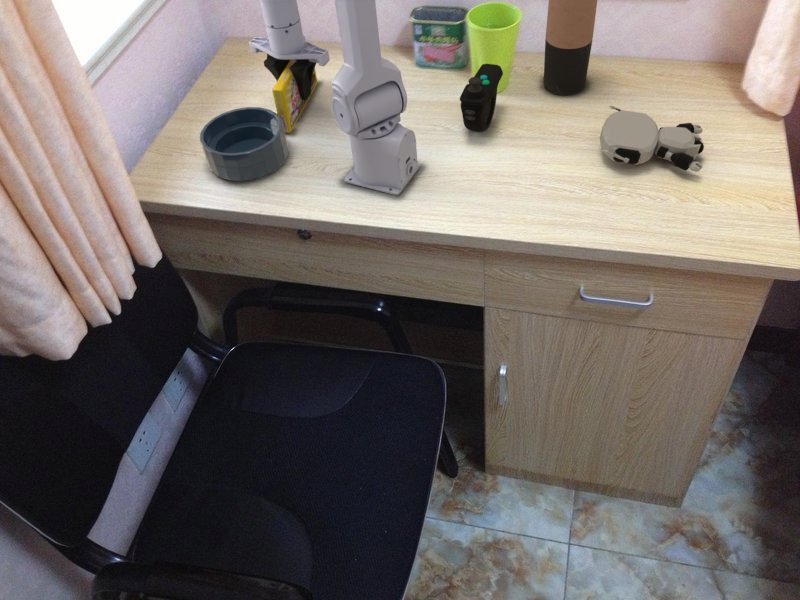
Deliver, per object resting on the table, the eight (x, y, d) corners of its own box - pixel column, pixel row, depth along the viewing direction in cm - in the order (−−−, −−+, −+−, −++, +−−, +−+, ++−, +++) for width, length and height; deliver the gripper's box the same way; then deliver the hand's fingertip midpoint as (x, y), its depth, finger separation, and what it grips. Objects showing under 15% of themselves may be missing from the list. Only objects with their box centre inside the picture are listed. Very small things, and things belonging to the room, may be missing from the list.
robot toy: (698, 140, 108) (601, 125, 111) (707, 115, 104) (607, 100, 107) (697, 188, 100) (593, 171, 103) (707, 163, 97) (599, 146, 100)
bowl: (304, 144, 114) (298, 115, 110) (259, 191, 107) (251, 162, 103) (240, 129, 119) (232, 101, 115) (193, 173, 112) (182, 144, 107)
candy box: (292, 134, 117) (281, 90, 111) (280, 133, 117) (269, 90, 111) (319, 83, 127) (310, 41, 121) (308, 83, 128) (299, 41, 122)
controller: (457, 142, 111) (455, 87, 104) (480, 102, 119) (480, 47, 111) (482, 147, 110) (483, 91, 102) (504, 105, 117) (506, 51, 110)
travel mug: (554, 69, 124) (565, -47, 109) (594, 79, 120) (610, -38, 106) (533, 89, 120) (542, -28, 105) (574, 100, 117) (588, -19, 102)
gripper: (333, 15, 110) (345, 90, 120) (259, 3, 115) (276, 76, 125) (310, 35, 106) (324, 112, 116) (234, 22, 111) (254, 96, 121)
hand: (298, 95), depth 120 cm, fingers closed on candy box, 3 cm apart
